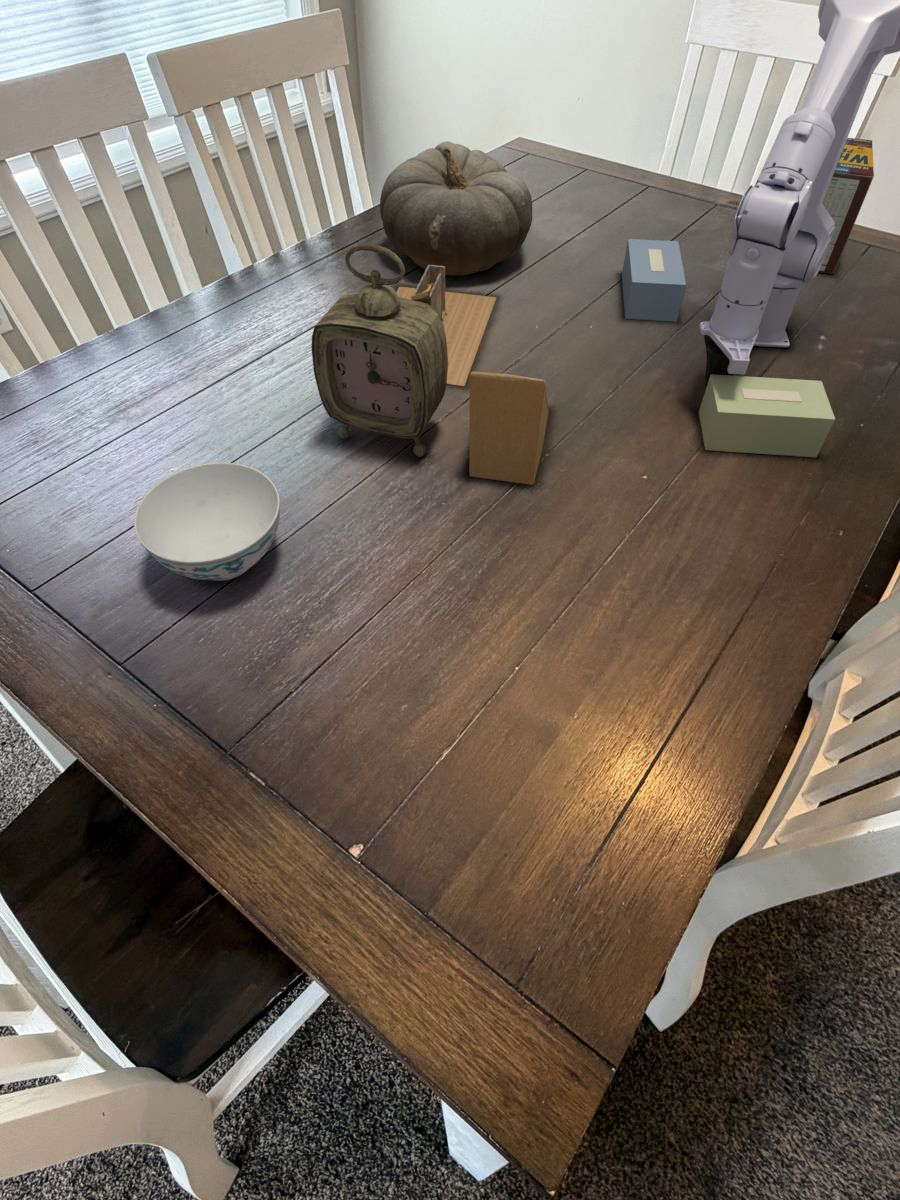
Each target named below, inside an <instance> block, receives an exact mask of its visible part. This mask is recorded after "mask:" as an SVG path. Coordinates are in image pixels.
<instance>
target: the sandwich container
mask: <svg viewBox="0 0 900 1200" xmlns="http://www.w3.org/2000/svg"><path fill="white" fill-rule="evenodd" d="M548 405H549V404H548V397H547V381H546V380H545V379H542V378H536V377H529V376H522V375H517V374H510V373H498V372H484V371H470V373H469V438H468V439H469V441H468V442H469V448H468V449H469V455H468V456H469V464H468V465H469V467H468V468H469V471H468V472H469V475H468V476H469V477H473V478H479V479H488V480H492V481H493V480H494V481H495V480H496V481H501V482H508V483H517V484H523V485H531V486H533V485H534V484H535V480H536V476H537V473H538V469H539V466H540V465H539V464H540V461H541V458H542V453H543V449H544V442H545V437H546V431H547V424H548V418H549V413H550V411H549V406H548Z"/></svg>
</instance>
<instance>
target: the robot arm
mask: <svg viewBox="0 0 900 1200" xmlns="http://www.w3.org/2000/svg"><path fill="white" fill-rule="evenodd" d="M817 18H818V23H819V28H818V36H819V37H820V38H821V40H822V41H824V45H823V47H822V50H821V53H820V56H819V58H818V60H817V64H816V67H815V69H814V72H813V75H812V77H811V81H810V83H809V85H808V89H807V91H806V94H805V96H804V100H803V102H802V104H801V108H800V109H799V110H798V111H797V112H795V113H793V114H791V115H789V116H787V117H786V118H785V119H784V121H782V124H781V126H780V129H779V130H778V132H777V134H776V137H775V139H774V142H773V144H772V146H771V149H770V151H769V152H768V155H767V158H766V160H765V161H764V164H763V166H762V168H761V170H760V173H759V175H758V176H757V180H756V182H755V184H754V185H753V184H749V186H747V188H746V190H745V191H744V193H743V195H742V197H741V199H740V201H739V204H738V207H737V209H736V212H735V216H734V219H733V223H732V230H731V240H730V242H729V247H728V252H727V253H728V254H729V255H730V256H729V258H728V262H727V266H726V269H725V272H724V276H723V278H722V282H721V285H720V288H719V292H718V295H717V299H716V303H715V306H714V310H713V312H712V315H711V317H710V320H709V321H701V322H700V323H699V327H698V330H699V333H700V334H701V335H703V339H704V344H705V349H706V361H705V362H706V363H705V374H704V390H706V388H707V385H708V381H709V378H710V375H711V374H713V375H730V376H735V375H746V372H747V370H748V367H749V365H750V361H751V358H752V356H753V351H752V350H753V347H767V348H783V349H784V348H785V349H787V348H789V347H790V345H791V343H790V340H789V337H788V334H787V331H786V329H787V327H788V324H789V321H790V318H791V316H792V313H793V311H794V308H795V305H796V304H797V303H796V302H797V301H798V297H799V295H800V292H801V289H802V287H803V285H804V283H805V284H809V283H811V282H812V281H814V280H815V279H816V277H817V275H818V273H819V272H818V271H819V269H820V267H821V265H822V263H823V261H824V258H825V256H826V253H827V251H828V248H829V245H830V242H831V237H832V235H833V232H834V230H835V227H834V225H835V222H834V220H833V218H832V217H831V216H830V214H829V213H828V211H827V210H826V208H825V207H824V205H823V200H824V197H825V195H826V192H827V189H828V187H829V184H830V182H831V179H832V177H833V174H834V171H835V169H836V166H837V164H838V161H839V158H840V156H841V153H842V151H843V148H844V146H845V143H846V140H847V138H849V135H850V133H851V130H852V128H853V125H854V122H855V119H856V118H857V114H858V111H859V109H860V107H861V104H862V102H863V100H864V96H865V94H866V92H867V89H868V86H869V83H870V80H871V78H872V75H873V74H874V72H875V71H876V69H877V67H878V66H879V64H880V63H881V61H882V60H883V58H884V57H885V56H887V55H891V54H895V53H899V52H900V0H820V3H819V7H818V12H817Z"/></svg>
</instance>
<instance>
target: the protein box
mask: <svg viewBox="0 0 900 1200" xmlns="http://www.w3.org/2000/svg"><path fill="white" fill-rule="evenodd" d="M874 170H875V169H874V149H873V140H872V139H863V138H855V137H848V138H847V140H846V143H845V146H844V148H843V151H842V153H841V156H840V158H839V161H838V164H837V166H836V169H835V171H834V174H833V177H832V179H831V182H830V184H829V187H828V189H827V192H826V195H825V197H824V200H823V205H824V207H825V208H826V210H827V211H828V213H829V214H830V216H831V217H832V218H833V220H834V222H835V225H834V227H835V230H834V232H833V235H832V237H831V242H830V245H829V248H828V251H827V253H826V256H825V258H824V261H823V263H822V265H821V267H820V269H819V271H818V273H821V274H829V275H834V274H835V272H836V271H837V267H838V265H839V262H840V261H841V257H842V256H843V253H844V250H845V248H846V245H847V243H848V241H849V239H850V235H851V234H852V231H853V228H854V226H855V223H856V221H857V219H858V216H859V214H860V211H861V210H862V206H863V204H864V202H865V200H866V196H867V194H868V192H869V189H870V188H871V185H872V182H873V180H874V177H875V171H874Z"/></svg>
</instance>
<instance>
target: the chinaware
mask: <svg viewBox="0 0 900 1200" xmlns="http://www.w3.org/2000/svg"><path fill="white" fill-rule="evenodd" d="M280 516H281V499H280V495H279V491H278V488H277V487H276V485H275V484H274V482H273V481H272V480H271V479H270V478H269V477H268V476H267V475H266V474H264V473H263V472H261V471H260V470H258V469H256V468H254V467H251V466H248V465H244V464H241V463H233V462H209V463H204V464H203V463H202V464H198V465H194V466H190V467H188V468H184V469H181V470H179V471H175V472H174V473H172V474H170V475H169V476H166V477H165V478H164V479H162V480H160V481H159V482H158V483H156V484H155V485H153V487H151V489H149V491H148V492H146V494H145V495H144V496H143V497H142V498H141V500H140V502H139V504H138V505H137V508H136V510H135V513H134V518H133V528H134V533H135V536H136V538H137V540H138V541H139V543H140V544H141V546H142V547H143V548H144V550H145V551H146V552H147V553H148V554H149V555H150V556H151V557H152V558H153V559H154V560H156V561H157V562H158V563H159V564H160V565H161V566H163V567H164V568H166V569H168V570H170V571H171V572H173V573H174V574H175V573H176V574H178V575H180V576H183V577H186V578H188V579H189V578H190V579H193V580H200V581H219V582H220V581H229V580H232V579H235V578H238V577H240V576H241V575H243V574H244V573H246V572H247V571H248V570H250V568H251V567H253V566H254V565H256V564H258V562H259V561H260V560H261V559H263V557H264V556H265V555H266V554H267V552H268V551H269V549H270V547H271V546H272V544H273V542H274V540H275V537H276V535H277V531H278V528H279V524H280Z"/></svg>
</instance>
